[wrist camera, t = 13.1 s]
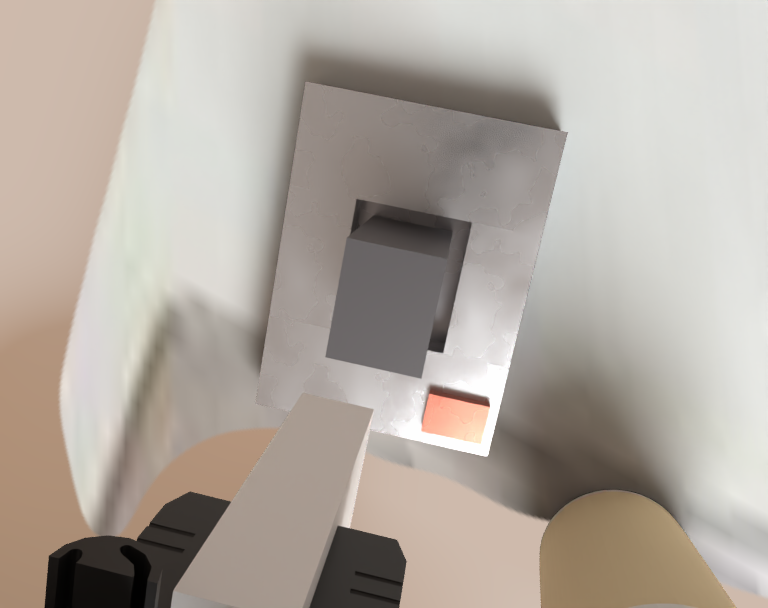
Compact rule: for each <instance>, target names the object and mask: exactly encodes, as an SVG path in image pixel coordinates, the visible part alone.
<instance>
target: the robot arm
mask: <svg viewBox="0 0 768 608" xmlns="http://www.w3.org/2000/svg"><path fill="white" fill-rule="evenodd" d="M373 412H374V409H371V408H367V407H362V406H358V405H354V404H350V403H345V402H341V401H337V400H332V399H328V398H324V397H319V396H315V395H311V394H306V393H302V395H301V396H300V398H299V399H298V401H297V402H296V404H295V405H294V407H293V408H292V410H291V411H290V413H289V415H288V416H287V418H286V419H285V421H284V422H283V424H282V425H281V427H280V428H279V430H278V431H277V433H276V435H275V436H274V437H273V439H272V440H271V442H270V444H269V445H268V447H267V448H266V450H265V451H264V453H263V455H262V456H261V458H260V459H259V460H258V462H257V463H256V465H255V467H254V468H253V469H252V471H251V473H250V474H249V476H248V477H247V479H246V480H245V482H244V483H243V485H242V486H241V488H240V489H239V491H238V492H237V494H236V495H235V497H234V499H233V500H232V502H230V501H226V500H222V499H218V498H214V497H210V496H205V495H202V494H197V493H193V492H188V493H186V494H184V495H182V496H181V497H179V498H177V499H175V500H173V501H171V502H169V503H167V504H165V505H164V506H163V508H162V509H161V510H160V511H159V512H158V514H157V515H156V516H155V517H154V518H153V520H152V521H151V522H150V525H149V526H147V527H146V528H145V529H144V531H143V532H142V533H141V534H140V535H139V537H138V539H137V541H135V540H133V539H130V538H123V537H115V536H99V537H90V538H84V539H81V540H78V541H75V542H72V543H69V544H66V545H64V546H63V547H61V548H60V549H58V550H57V551H55V552H54V553H52V554H51V555H50V556H49V562H48V573H47V586H46V599H45V608H399V604H400V599H401V592H402V586H403V580H404V574H405V567H406V559H405V557H404V555H403V552H402V550H401V548H400V546H399V543H398V541H397V540H395V539H391V538H387V537H383V536H378V535H375V534H371V533H366V532H362V531H358V530H354V529H350V524H351V519H352V514H353V510H354V505H355V500H356V495H357V490H358V485H359V481H360V476H361V471H362V466H363V461H364V456H365V451H366V446H367V442H368V437H369V432H370V427H371V422H372V417H373Z"/></svg>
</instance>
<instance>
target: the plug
mask: <svg viewBox="0 0 768 608" xmlns="http://www.w3.org/2000/svg"><path fill="white" fill-rule="evenodd" d="M452 233H453V232H452V231H447V230H443V229H438V228H433V227H428V226H423V225H419V224H414V223H409V222H404V221H399V220H395V219H390V218H385V217H380V216H375V215H373V216H372V217H371V218H370V219H369V220H367V221H366V222H365V223H364V224H363V225H361V226H360V227H359V228H358V229H357V230H355V231H354V232H353V233H352V234H351V235H349V236H348V237H347V239H346V245H345V251H344V256H343V262H342V267H341V273H340V278H339V284H338V289H337V295H336V300H335V306H334V311H333V317H332V322H331V328H330V333H329V339H328V345H327V350H326V356H325V357H326V358H331V359H335V360H340V361H344V362H349V363H353V364H357V365H362V366H366V367H371V368H375V369H380V370H384V371H389V372H393V373H398V374H402V375H407V376H411V377H416V378H420V379H421V378H422V374H423V369H424V365H425V360H426V355H427V351H428V346H429V342H430V337H431V332H432V328H433V323H434V319H435V314H436V309H437V305H438V300H439V296H440V291H441V287H442V282H443V277H444V273H445V268H446V264H447V259H448V254H449V249H450V243H451V238H452Z"/></svg>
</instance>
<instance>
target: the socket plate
mask: <svg viewBox="0 0 768 608" xmlns="http://www.w3.org/2000/svg"><path fill="white" fill-rule="evenodd" d="M567 133H568V132H563V131H558V130H553V129H548V128H543V127H538V126H532V125H527V124H522V123H517V122H512V121H507V120H502V119H496V118H491V117H486V116H481V115H476V114H471V113H466V112H461V111H455V110H450V109H445V108H440V107H435V106H430V105H425V104H419V103H414V102H409V101H404V100H399V99H394V98H389V97H383V96H378V95H373V94H368V93H363V92H358V91H353V90H348V89H342V88H337V87H332V86H327V85H322V84H317V83H312V82H305V88H304V94H303V101H302V107H301V114H300V120H299V127H298V133H297V139H296V146H295V152H294V159H293V165H292V171H291V178H290V184H289V191H288V197H287V204H286V210H285V216H284V223H283V229H282V236H281V242H280V249H279V255H278V261H277V268H276V274H275V281H274V287H273V294H272V300H271V306H270V313H269V319H268V326H267V332H266V338H265V345H264V351H263V358H262V364H261V371H260V377H259V383H258V390H257V396H256V403H255V404H258V405H262V406H267V407H271V408H276V409H280V410H284V411H289V412H290V411H291V410H292V408H293V407H294V405H295V404H296V402H297V401H298V399H299V398H300V396H301V395H302V393H306V394H311V395H315V396H319V397H324V398H328V399H332V400H337V401H341V402H345V403H350V404H354V405H358V406H362V407H367V408H371V409H374V412H373V417H372V422H371V427H370V430H372V431H377V432H381V433H385V434H390V435H394V436H399V437H403V438H407V439H412V440H416V441H421V442H425V443H429V444H434V445H438V446H443V447H447V448H451V449H456V450H460V451H465V452H469V453H473V454H478V455H482V456H486V457H487V456H488V452H489V448H490V444H491V440H492V436H493V432H494V428H495V424H496V420H497V416H498V412H499V408H500V404H501V400H502V396H503V392H504V388H505V383H506V379H507V375H508V371H509V367H510V363H511V359H512V355H513V351H514V347H515V343H516V339H517V335H518V331H519V327H520V323H521V319H522V315H523V311H524V307H525V303H526V299H527V295H528V291H529V287H530V283H531V278H532V274H533V270H534V266H535V262H536V258H537V254H538V250H539V246H540V242H541V238H542V234H543V230H544V226H545V222H546V218H547V214H548V210H549V206H550V202H551V198H552V194H553V190H554V186H555V182H556V177H557V173H558V169H559V165H560V161H561V157H562V153H563V149H564V145H565V141H566V137H567ZM373 215H375V216H380V217H385V218H390V219H395V220H399V221H404V222H409V223H414V224H419V225H423V226H428V227H433V228H438V229H443V230H447V231H452V232H453V233H452V238H451V243H450V249H449V254H448V259H447V264H446V268H445V273H444V277H443V282H442V287H441V291H440V296H439V300H438V305H437V309H436V314H435V319H434V323H433V328H432V332H431V337H430V342H429V346H428V351H427V355H426V360H425V365H424V369H423V374H422V378H421V379H420V378H416V377H411V376H407V375H402V374H398V373H393V372H389V371H384V370H380V369H375V368H371V367H366V366H362V365H357V364H353V363H349V362H344V361H340V360H335V359H331V358H326V357H325V356H326V350H327V345H328V339H329V333H330V328H331V322H332V317H333V311H334V306H335V300H336V295H337V289H338V284H339V278H340V273H341V267H342V262H343V256H344V251H345V245H346V239H347V237H348V236H349V235H351V234H352V233H353V232H354V231H355V230H357V229H358V228H359V227H360V226H361V225H363V224H364V223H365V222H366V221H367V220H369V219H370V218H371V217H372V216H373Z"/></svg>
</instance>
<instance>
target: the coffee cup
mask: <svg viewBox="0 0 768 608" xmlns="http://www.w3.org/2000/svg"><path fill="white" fill-rule="evenodd" d="M540 590H541V608H736V606H735V605H734V603H733V602H732V600H731V599H730V597H729V596H728V595H727V593H726V592H725V590H724V589H723V587H722V586H721V584H720V583H719V581H718V580H717V578H716V577H715V575H714V574H713V573H712V571H711V570H710V568H709V567H708V565H707V564H706V562H705V561H704V559H703V558H702V557H701V555H700V554H699V552H698V551H697V549H696V548H695V546H694V545H693V544H692V542H691V541H690V539H689V538H688V536H687V535H686V534H685V532H684V531H683V529H682V528H681V527H680V525H679V524H678V523H677V521H676V520H675V519H674V518H673V517H672V516H671V515H670V513H669V512H668V511H667V510H665V509H664V508H663V507H662V506H661V505H659V504H657V503H656V502H654V501H653V500H651V499H649V498H647V497H645V496H643V495H640V494H637V493H633V492H630V491H623V490H601V491H595V492H592V493H588V494H585V495H582V496H580V497H578V498H576V499H574V500H572V501H571V502H569V503H568V504H566V505H565V506H564V507H563V508H561V509H560V510H559V511H558V512H557V513H556V514H555V516H554V517H553V518H552V519H551V521H550V522H549V524H548V526H547V528H546V530H545V532H544V535H543V537H542V541H541V546H540Z"/></svg>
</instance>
